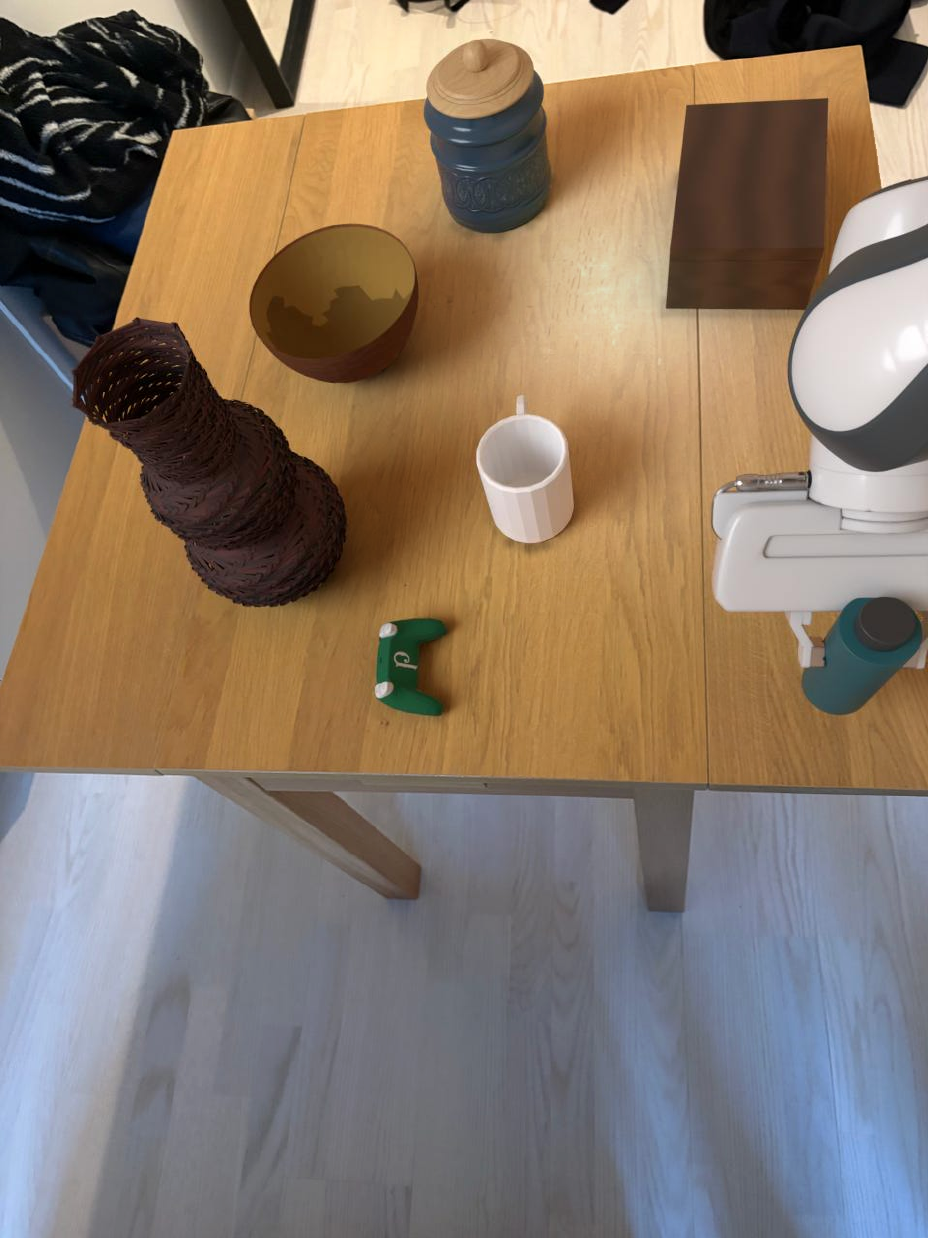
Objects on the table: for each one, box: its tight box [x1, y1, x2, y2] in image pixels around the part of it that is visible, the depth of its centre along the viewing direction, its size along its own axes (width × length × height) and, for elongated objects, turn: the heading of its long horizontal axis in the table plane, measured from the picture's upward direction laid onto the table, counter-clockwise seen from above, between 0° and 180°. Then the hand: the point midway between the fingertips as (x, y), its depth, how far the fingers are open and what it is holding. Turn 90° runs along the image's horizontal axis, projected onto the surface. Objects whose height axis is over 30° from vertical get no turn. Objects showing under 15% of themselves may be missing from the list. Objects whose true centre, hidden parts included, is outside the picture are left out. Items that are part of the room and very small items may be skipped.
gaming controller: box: [374, 617, 448, 717], centre depth 72 cm, size 9×4×6 cm
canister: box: [423, 38, 552, 234], centre depth 87 cm, size 13×13×18 cm
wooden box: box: [665, 97, 829, 311], centre depth 82 cm, size 14×20×8 cm
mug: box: [475, 394, 575, 544], centre depth 74 cm, size 8×12×10 cm
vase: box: [70, 316, 348, 608], centre depth 67 cm, size 15×15×30 cm
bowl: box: [248, 223, 420, 384], centre depth 85 cm, size 18×18×10 cm
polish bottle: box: [801, 597, 923, 716], centre depth 56 cm, size 5×5×14 cm
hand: (859, 665), depth 55 cm, fingers closed on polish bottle, 5 cm apart
